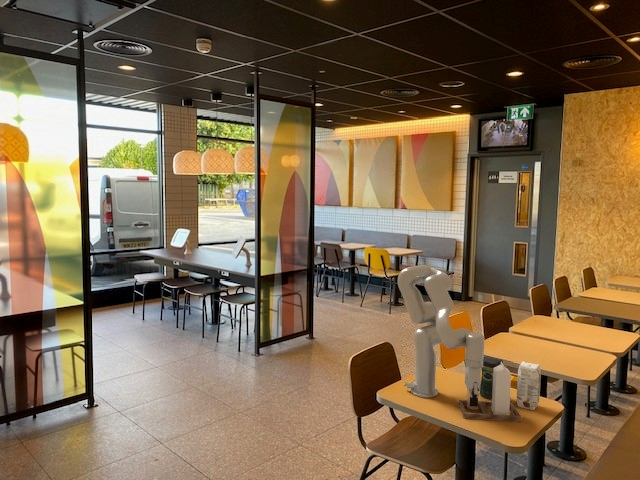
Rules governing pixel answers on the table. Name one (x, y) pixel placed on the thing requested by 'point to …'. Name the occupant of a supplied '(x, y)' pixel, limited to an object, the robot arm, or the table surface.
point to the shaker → (469, 400)
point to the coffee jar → (488, 376)
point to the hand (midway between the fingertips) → (472, 402)
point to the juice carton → (528, 385)
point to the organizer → (485, 413)
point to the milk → (501, 390)
